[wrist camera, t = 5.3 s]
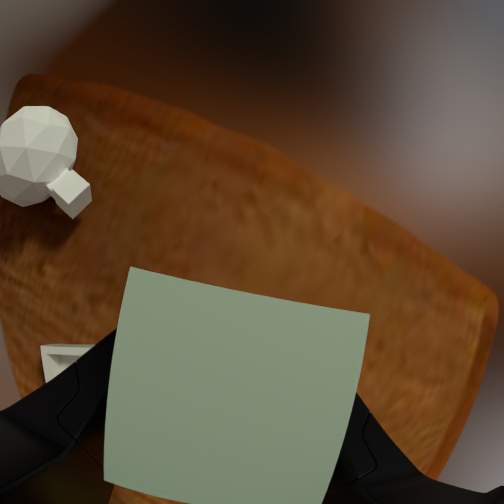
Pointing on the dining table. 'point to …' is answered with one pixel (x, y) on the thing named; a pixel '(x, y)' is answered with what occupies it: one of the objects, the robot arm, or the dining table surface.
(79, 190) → the perfume bottle
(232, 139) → the dining table surface
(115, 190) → the dining table surface
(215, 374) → the block
